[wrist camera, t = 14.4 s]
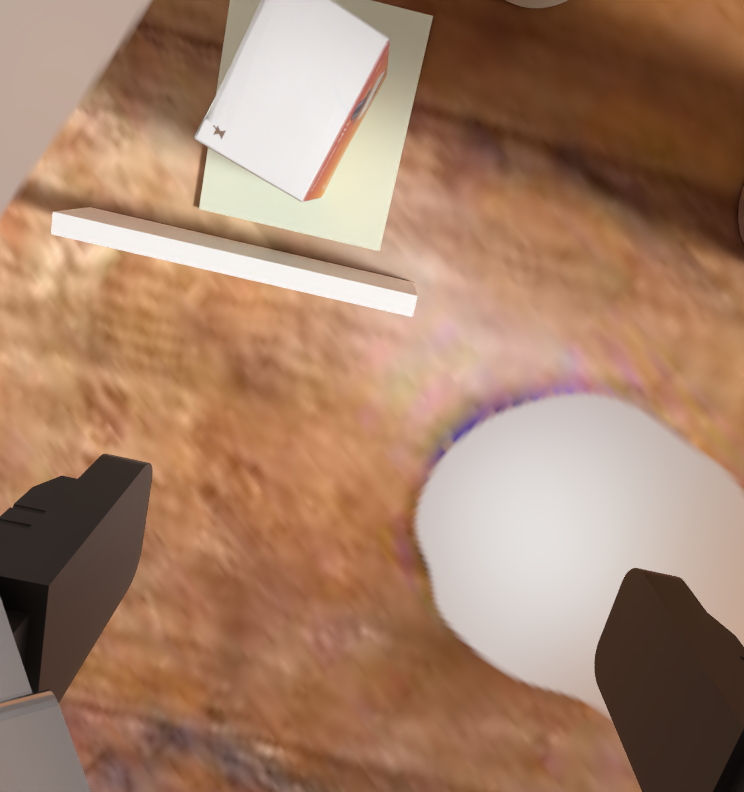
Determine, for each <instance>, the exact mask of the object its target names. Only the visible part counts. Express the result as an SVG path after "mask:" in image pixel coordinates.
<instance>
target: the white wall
mask: <svg viewBox="0 0 744 792" xmlns="http://www.w3.org/2000/svg"><path fill="white" fill-rule="evenodd" d="M51 234H53V235H57V236H62V237H66V238H70V239H75V240H79V241H83V242H88V243H92V244H96V245H101V246H105V247H109V248H114V249H118V250H122V251H127V252H131V253H136V254H140V255H144V256H149V257H153V258H157V259H162V260H166V261H170V262H175V263H179V264H183V265H188V266H192V267H197V268H201V269H205V270H210V271H214V272H218V273H223V274H227V275H231V276H236V277H240V278H244V279H249V280H253V281H258V282H262V283H266V284H271V285H275V286H279V287H284V288H288V289H292V290H297V291H301V292H305V293H310V294H314V295H318V296H323V297H327V298H332V299H336V300H340V301H345V302H349V303H353V304H358V305H362V306H366V307H371V308H375V309H379V310H384V311H388V312H393V313H397V314H401V315H406V316H410V317H413V313H414V309H415V305H416V301H417V297H418V295H417V292H416V288H415V285H414V282H411V281H406V280H402V279H398V278H393V277H389V276H385V275H380V274H376V273H372V272H368V271H363V270H359V269H355V268H350V267H346V266H342V265H337V264H333V263H329V262H325V261H320V260H316V259H312V258H307V257H303V256H299V255H294V254H290V253H286V252H282V251H277V250H273V249H269V248H264V247H260V246H256V245H251V244H247V243H243V242H239V241H234V240H230V239H226V238H221V237H217V236H213V235H208V234H204V233H200V232H196V231H191V230H187V229H183V228H178V227H174V226H170V225H165V224H161V223H157V222H153V221H148V220H144V219H140V218H135V217H131V216H127V215H122V214H118V213H114V212H110V211H105V210H101V209H97V208H92V207H86V208H78V209H70V210H62V211H54V212H53V216H52V228H51Z"/></svg>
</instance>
